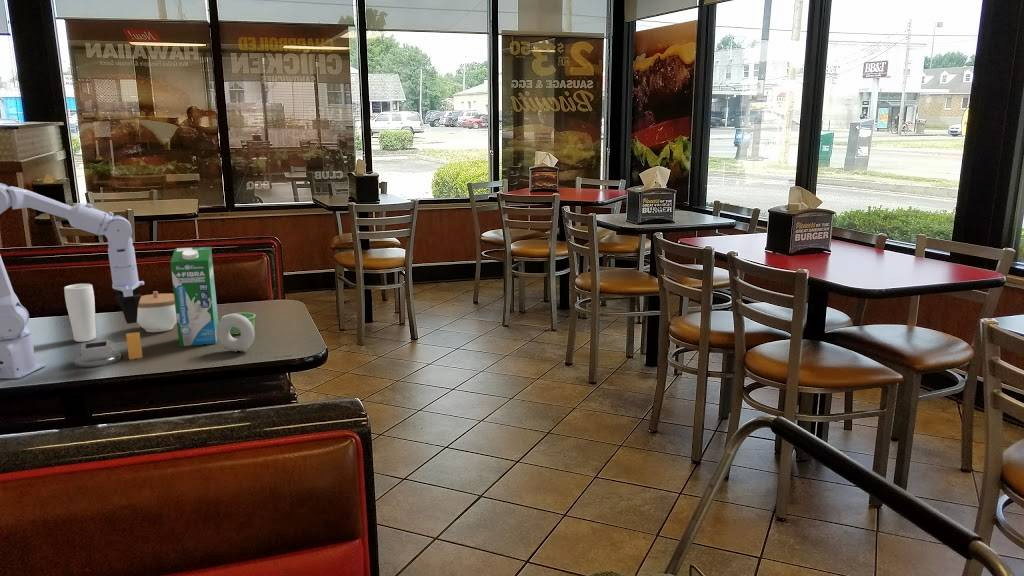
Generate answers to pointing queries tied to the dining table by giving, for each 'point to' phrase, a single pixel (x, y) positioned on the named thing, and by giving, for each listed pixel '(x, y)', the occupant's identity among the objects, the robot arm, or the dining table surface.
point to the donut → (225, 336)
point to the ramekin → (249, 316)
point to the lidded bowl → (157, 312)
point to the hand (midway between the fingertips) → (131, 319)
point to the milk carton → (194, 295)
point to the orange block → (134, 345)
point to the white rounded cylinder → (81, 311)
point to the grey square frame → (97, 354)
